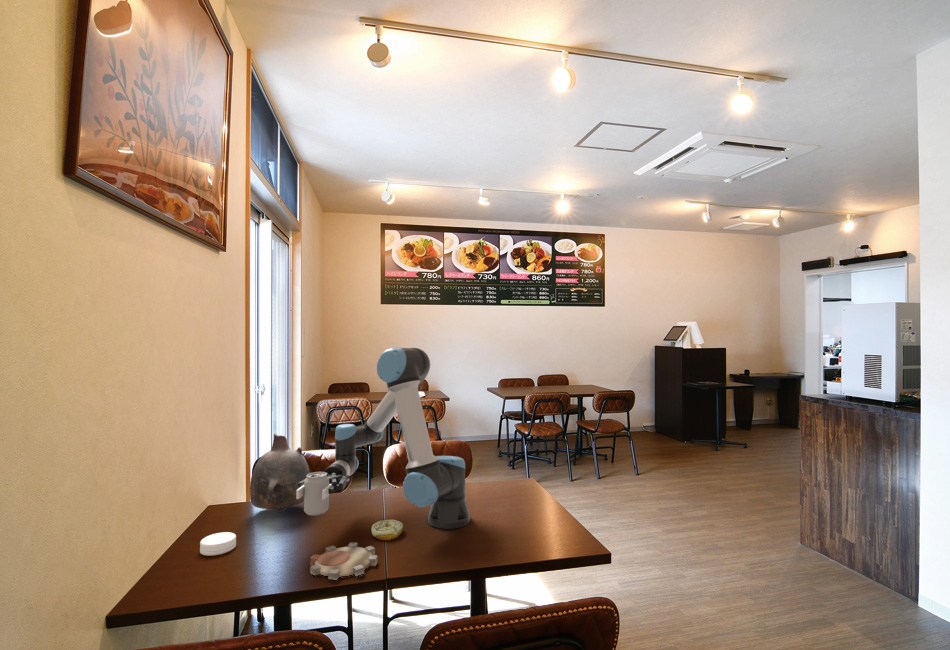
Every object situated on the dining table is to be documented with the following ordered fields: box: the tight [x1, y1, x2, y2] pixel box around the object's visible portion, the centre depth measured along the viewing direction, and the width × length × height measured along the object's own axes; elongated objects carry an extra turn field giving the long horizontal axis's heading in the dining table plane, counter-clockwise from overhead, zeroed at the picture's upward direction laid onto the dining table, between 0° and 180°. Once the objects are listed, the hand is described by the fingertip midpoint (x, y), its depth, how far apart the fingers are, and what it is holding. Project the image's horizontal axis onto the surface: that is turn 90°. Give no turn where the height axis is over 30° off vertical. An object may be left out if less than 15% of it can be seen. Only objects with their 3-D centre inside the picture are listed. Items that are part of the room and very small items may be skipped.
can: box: [303, 471, 330, 516], centre depth 145 cm, size 8×8×12 cm
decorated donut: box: [370, 519, 404, 541], centre depth 154 cm, size 10×11×4 cm
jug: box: [249, 432, 311, 513], centre depth 176 cm, size 24×21×30 cm
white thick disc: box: [199, 531, 237, 557], centre depth 144 cm, size 10×10×4 cm
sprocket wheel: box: [309, 542, 378, 581], centre depth 133 cm, size 19×19×2 cm
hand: (310, 494), depth 140 cm, fingers closed on can, 7 cm apart
